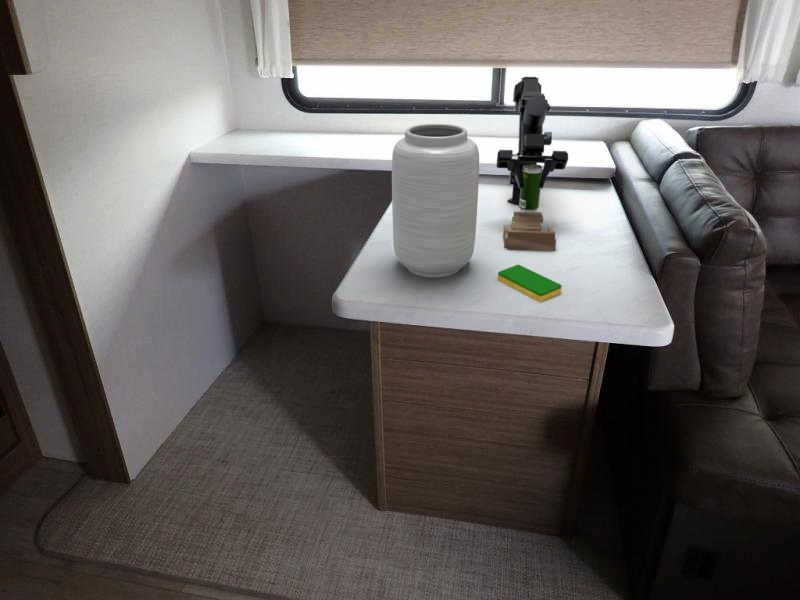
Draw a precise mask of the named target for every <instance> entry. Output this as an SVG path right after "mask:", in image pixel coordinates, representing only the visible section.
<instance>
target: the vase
mask: <svg viewBox="0 0 800 600" xmlns="http://www.w3.org/2000/svg"><path fill="white" fill-rule="evenodd" d="M479 180H480V153H479V147H478V145H477V143H476V142H475V141H474V140H472V139H471V138H469V137H468V130H467V129H466V128H464V127H463V126H460V125H456V124H449V123H423V124H416V125H412V126H409V127H407V128H406V129H405V131H404V137H403V138H401V139H400V140H398V141H397V142H396V143H395V145H394V146H393V151H392V157H391V204H392V205H391V206H392V207H391V208H392V209H391V210H392V211H391V212H392V241H393V250H394V254H395V256H396V258H397V260H398V261H399V263H401V264H402V265H403V266H404V267H405V268H406V269H407V271H408V272H410V273H412V274H413V275H416V276H420V277H423V278H430V279H432V278H433V279H434V278H437V279H438V278H445V277H449V276H452V275H455V274H458V272H459V271H460V270H461V269H462V268H463V267H464V266H465V265H467V264H468V263H469V261H470V260H471V259H472V257H473V254H474V251H475V244H476V243H475V242H476V232H477V217H478V203H479V199H478V198H479V183H480V182H479Z"/></svg>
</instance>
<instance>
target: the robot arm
mask: <svg viewBox="0 0 800 600" xmlns="http://www.w3.org/2000/svg"><path fill="white" fill-rule="evenodd" d="M512 98H513V99H512V102H513V103H514V110H515V111H516V113H517V114H518V116H519V121H518V149H517V150H518V151H517V153H513V149H499V150H498V151H497V156H496V168H497V169H507V170H506V171H509V180H508V181H509V185H512V193H511V198H509V199H507V203H511V204H515V205H519V199H520V188H521V182H522V181H521V178H522V169H523V166H524V165H527V164H537V165H538V164H543V167H542V170H543V172H542V181H541V189H542V190H543V188H544V186H545V182H546V179H547V177H548V176H549V174H550V173H553V172H554V170H562V171H563V170H564V169H566V166H567V163H568V162H569V153H568V151H566V150H553V151H552V154H551V155H543V154H544V152H545V146H551V144H552V140H553V138H552V137H553V135H552V134H553V132H552V131H545V132H544V133H543V131H544V130H543V127H544V126H543V125H544V123H545V120H546V116H547V114H548V112H549V111H551V110H550V109H551V105H550V104H549V102H548V99H546V96H545V94H544V93H542V84H541V83H539V77H537V76H524V77H521V79H520V81H519V82H518V83H516V84H515V85H514V88H513V95H512Z"/></svg>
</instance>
